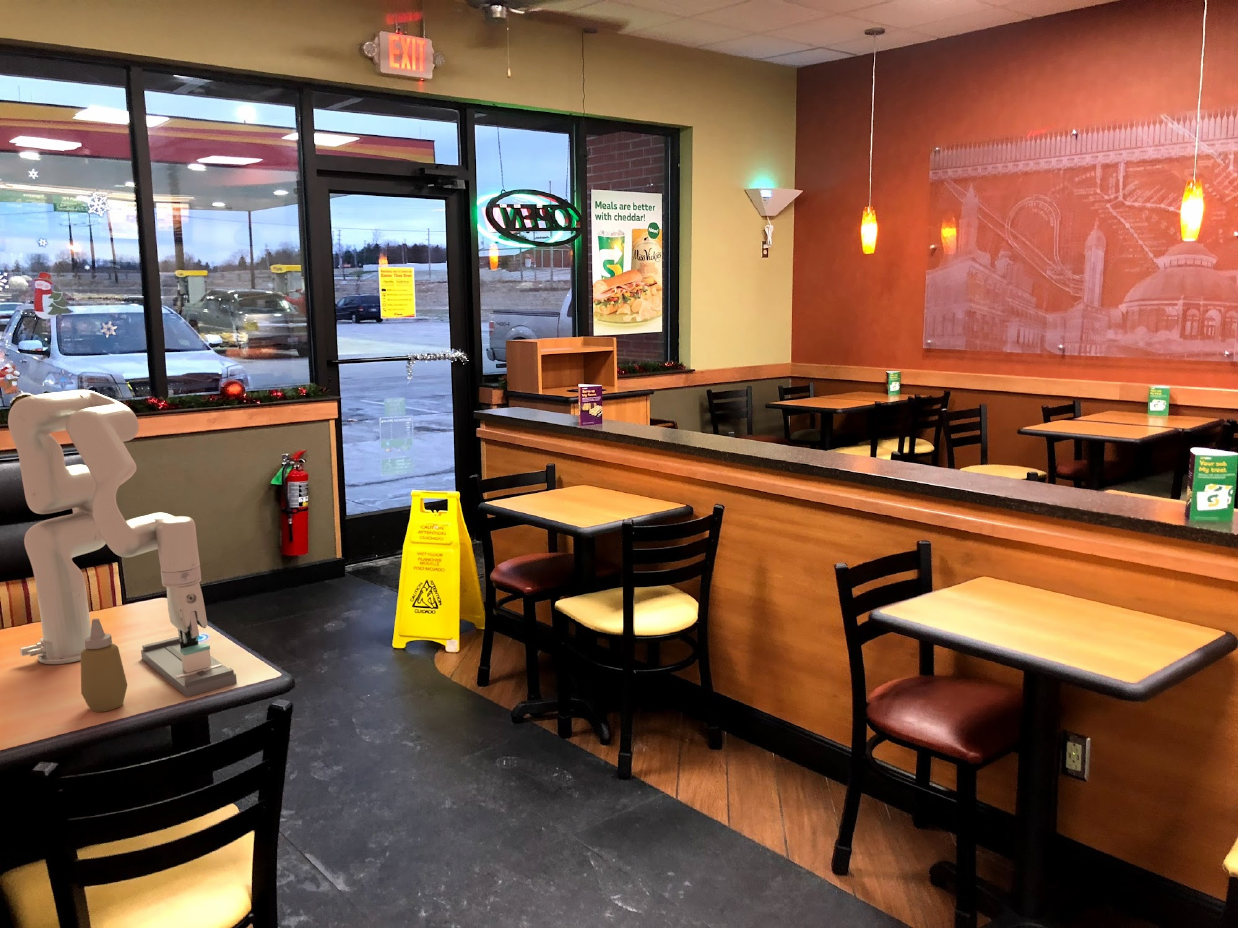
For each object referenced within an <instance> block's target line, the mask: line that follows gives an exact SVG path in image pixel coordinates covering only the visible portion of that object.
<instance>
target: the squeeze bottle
mask: <svg viewBox="0 0 1238 928" xmlns="http://www.w3.org/2000/svg"><path fill="white" fill-rule="evenodd" d="M101 623H102V622H101V621H100V619H99V618H92V620H91V634H90V636H89V637H87V638H86V639H85V640H84V641H85V647H86V648H85V649H84V650H83V651H82V652H81V660H80V682H81V683H80V690H81V692H80V693H81V696H82V697H83V699H84V700H85V703H86V704H87V706H88V709H89V710H90V711H91V712H94V713H96V712H97V713H102V712H108V711H112V710H115V709H117V708H120V707H121V706H122V705H123V703H124V701H125V697H126V692H127V689H128V681H127V677H126V674H125V670H124V669H125V668H124V665H123V662H122V661H123V660H122V658H121V653H120V649H119V647H118V645H117V644H115V643H113V639H112V634H110V633H105V631H104V627H103V626H102V624H101Z"/></svg>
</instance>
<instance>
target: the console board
mask: <svg viewBox="0 0 1238 928" xmlns="http://www.w3.org/2000/svg"><path fill="white" fill-rule="evenodd" d="M181 642H183V641H181ZM180 649H181V647H180V640H179V636H175V637H172V638H166V639H163V640H159V641H155V642H151V643H148V644H143V645H142V650H140V654H141V656H140V657H141V660H143V661H144V662H145V663H146V664H147V665H149V666H150V668H152V669H153V670H154V671H156V672H157V673H158V674H159V675H160V676H161V677H163V678H164V679H165V680H166V681H167V682H168V683H169V684H171V685H172V686H173V687H174V688H176V689H177V690H178V691H179V692H180V693H181V694H182V695H184V697H186V698H190V697H192V696H196V695H199V694H200V695H201V694H203V693H207V692H210V691H214V690H218V689H222V688H224V687H228V686H232V685H235V684H237V683H238V682H237V674H236V673H235V672H234V669H233V668H231V667H230V668H228V667H227V666H226V665H224V664H223V663H222V662H220V661H218V660H217V659H216V658H214V657H213V656H211V655H210V658H211V666H210V667H207V668H203V669H199V670H195V671H192V672H188V673H187V672H185V671H184V670H183V666H182V658H181V653H180ZM231 684H232V685H231Z"/></svg>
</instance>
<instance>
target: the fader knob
mask: <svg viewBox="0 0 1238 928" xmlns="http://www.w3.org/2000/svg"><path fill="white" fill-rule="evenodd" d="M210 650H211V646H210V644H209V643H207V642H202V643H198V645H194V646H190V647H186V648H182V649H180V653H181V658H182V666H183V670H184V671H185V672H187V673H188V672H192V671H195V670H199V669H203V668H207V667H210V666H211V658H210V656H211V651H210Z"/></svg>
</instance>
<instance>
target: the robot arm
mask: <svg viewBox="0 0 1238 928" xmlns="http://www.w3.org/2000/svg"><path fill="white" fill-rule="evenodd" d="M7 425H8V429H9V430H8V431H9V435H10V436H11V438H12V441H13V444H14V446H15V448H16V451H17V455H18V459H19V460H18V462H19V467H20V473H21V480H22V486H23V491H24V497H25V498H24V499H25V501H26V504H27V506H28V508H29V509H30V510H31V511H32V512H33V513H35V514H39V515H46V514H47V515H49V514H53V513H58V512H63V511H67V510H71V509H72V513H71V514H66V515H61V516H57V517H53V518H49V519H45V520H42V521H39V522H36V523H35V524H34V525H32V526H31V527H30V528H29V529H28V530H27V531H26V533H25V534H24V538H23V539H24V540H23V541H24V543H23V544H24V548H25V550H26V551H25V552H26V554H27V556H28V559H29V562H30V565H31V568H32V572H33V576H34V581H35V589H36V595H37V601H38V602H37V603H38V607H39V614H40V615H39V616H40V623H41V629H42V631H41V632H42V636H43V637H40V638H39V640H40V641H39V642H35V644H33V645H27V646H23V647H20V648H19V649H20V651H19V652H20V655H21V657H24V656H29V657H34V656H37V659H38V662H39V663H41V664H46V665H63V664H69V663H75V662H79V661H80V662H81V652H82V651H83V650H84V649H85V648H86V647H85V641H84V640H85V639H86V638H87V637H89V636H90V634H91V625H92V623H91V617H90V610H89V602H88V594H87V589H86V588H87V587H86V581H85V576H84V573H83V571H82V570H81V569H80V568H79V567H78V565H77V564H75V563H74V561H73V558H75V557H78V556H81V555H85V554H88V553H92V552H95V551H98V550H100V549H101V548H103V547H104V546H105V545H107V547H108V548H109V549H110V551H112V552H113V554H115V555H117V556H119V557H122V558H131V557H135V556H139V555H142V554H145V553H148V552H151V551H156V550H158V551H157V552H158V559H159V568H160V576H161V585H162V586H163V588H166V601H167V609H168V610H167V611H168V616H169V622H170V623H171V625H172V626H174V627H175V628H177V634H178V637H179V640H180V647H181V649H182V648H186V647H190V646H194V645H198V644H199V637H200V632H199V627H200V628H202V629H206V628H207V626H208V620H207V615H206V606H205V602H204V597H203V596H204V595H203V592H202V587H201V584H200V582H201V581H202V573H201V572H202V571H201V563H200V556H199V555H200V554H199V548H198V547H199V546H198V545H199V544H198V537H197V530H196V528H197V527H196V523H195V520H194V519H193V518H192V517H190V516H184V515H180V516H179V515H178V516H175V515H173V514H169V513H166V512H153V513H150V514H146V515H142V516H141V515H140V516H137V517H133V518H129V519H127V520H125V518H124V516H123V514H122V513H121V511H120V509H119V507H118V504H117V492H118V489H119V487H120V486H122V485H123V484H125V482H127V481H129V479H131V478H132V477H133V476H134V474H135V473H136V471H137V464H136V462H135V460H134V459H133V457H132V456H131V453H130V452H129V450H128V448H127V447H126V445H125V443H124V442H128V441H131V440H134V438H136V437H137V435H138V433H139V429H140V425H139V419H138V418H137V416H136V414H135V412H134V411H133V410H132V409H131V408H130V407H128V406H127V405H126V404H124V403H122V402H121V401H118V400H116V399H113V398H111V397H109V396H105V395H103V394H100V393H98V392H95V391H93V390H89V389H75V390H67V391H65V390H64V391H57V392H46V393H45V392H44V393H40V394H34V395H28V396H26V397H23V398H20V399H19V400H17V401H16V402H15V403H14V404H13V405H12V406H11V408H10V410H9V411H8V418H7ZM64 431H67V434H68V436H69V439H70V440H71V442H72V443H73V446H74V447H75V449H76V450H77V452H78V454H79V455H80V457H81V459H82V461H83V463H84V464H72V465H67V466H66V461H65V455H64V451H63V450H64V449H63V448H62V446H61V444H60V443H59V442H58V441H57V439H56V438H55V437H54V436H53V435H52V434H51V433H57V432H64ZM198 626H199V627H198ZM181 641H183V642H181Z"/></svg>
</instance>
